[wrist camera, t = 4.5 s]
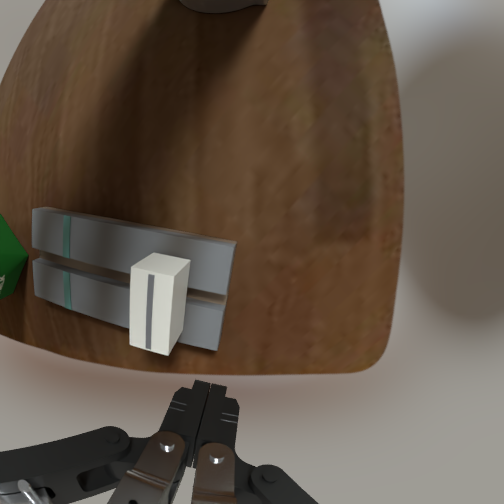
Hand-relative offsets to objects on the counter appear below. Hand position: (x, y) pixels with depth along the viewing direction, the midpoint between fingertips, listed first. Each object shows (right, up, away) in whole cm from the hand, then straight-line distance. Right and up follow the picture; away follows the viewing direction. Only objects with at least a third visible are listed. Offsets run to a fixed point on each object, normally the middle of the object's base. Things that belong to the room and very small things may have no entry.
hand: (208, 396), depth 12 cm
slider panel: (-10, +5, +12) cm, 16 cm away
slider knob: (-4, +4, +11) cm, 12 cm away
